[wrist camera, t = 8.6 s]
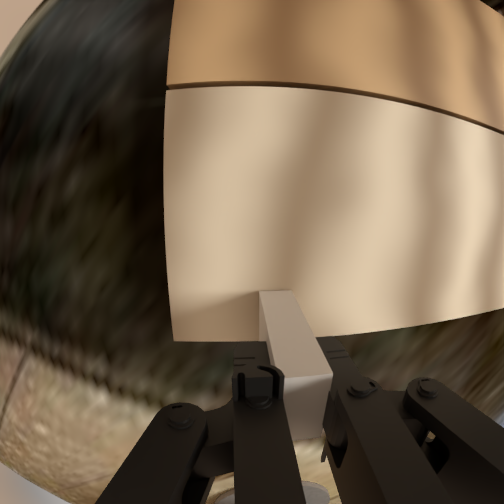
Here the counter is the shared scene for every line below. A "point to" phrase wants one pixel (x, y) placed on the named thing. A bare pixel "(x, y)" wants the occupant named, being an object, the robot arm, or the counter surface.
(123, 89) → the counter surface
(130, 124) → the counter surface
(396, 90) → the oak board
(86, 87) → the counter surface
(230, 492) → the mate gourd
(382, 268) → the ash plank
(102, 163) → the counter surface
